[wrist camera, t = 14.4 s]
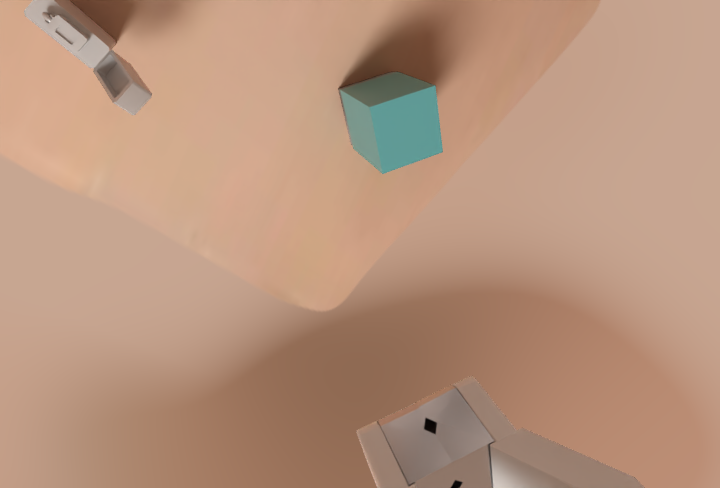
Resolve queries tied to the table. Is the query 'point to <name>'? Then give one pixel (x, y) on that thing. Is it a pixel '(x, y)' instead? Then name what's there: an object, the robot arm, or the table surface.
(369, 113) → the teal rectangular block
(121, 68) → the lighter
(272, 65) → the table surface
